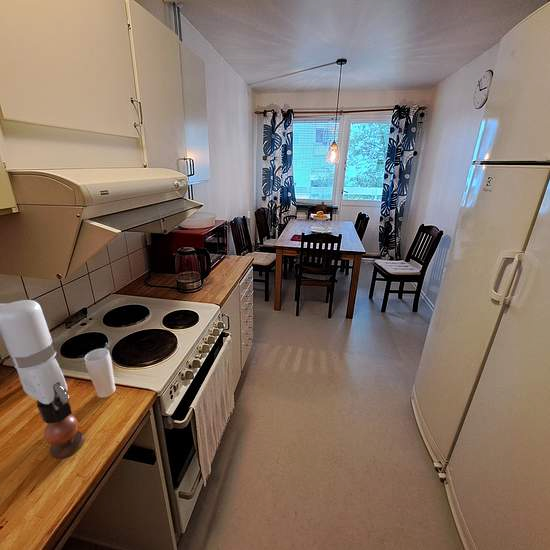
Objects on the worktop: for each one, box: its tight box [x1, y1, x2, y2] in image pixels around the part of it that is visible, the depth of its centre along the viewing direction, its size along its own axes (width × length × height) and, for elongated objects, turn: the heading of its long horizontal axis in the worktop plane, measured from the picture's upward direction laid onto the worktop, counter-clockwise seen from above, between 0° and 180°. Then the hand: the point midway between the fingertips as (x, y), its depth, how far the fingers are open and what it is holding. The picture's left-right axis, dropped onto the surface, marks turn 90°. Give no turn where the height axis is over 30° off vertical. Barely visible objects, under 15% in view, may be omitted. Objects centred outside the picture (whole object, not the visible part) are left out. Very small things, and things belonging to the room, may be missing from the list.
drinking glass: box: [83, 347, 117, 399], centre depth 90 cm, size 7×7×15 cm
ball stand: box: [43, 414, 85, 460], centre depth 74 cm, size 7×7×10 cm
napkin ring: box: [36, 393, 72, 425], centre depth 70 cm, size 6×6×5 cm
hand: (56, 412), depth 71 cm, fingers closed on napkin ring, 5 cm apart
